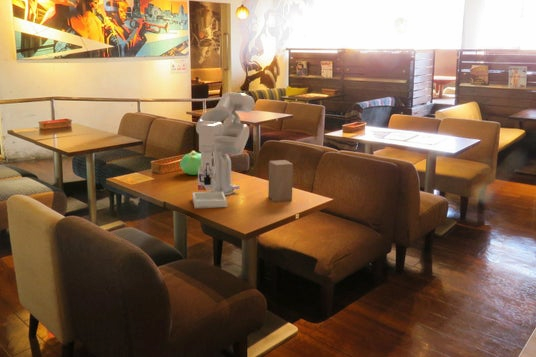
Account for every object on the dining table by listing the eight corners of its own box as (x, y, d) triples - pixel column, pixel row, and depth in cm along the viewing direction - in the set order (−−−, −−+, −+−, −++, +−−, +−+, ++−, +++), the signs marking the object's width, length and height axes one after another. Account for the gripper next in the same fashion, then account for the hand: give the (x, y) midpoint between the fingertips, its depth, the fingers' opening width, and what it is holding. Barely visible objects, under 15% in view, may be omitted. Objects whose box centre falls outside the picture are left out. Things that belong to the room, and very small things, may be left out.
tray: (222, 197, 269) (222, 191, 268) (226, 206, 254) (226, 200, 253) (192, 199, 265) (192, 192, 265) (194, 208, 250) (194, 201, 249)
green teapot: (200, 169, 327) (200, 147, 324) (214, 175, 315) (214, 152, 311) (176, 173, 316) (175, 151, 313) (189, 179, 304) (189, 155, 300)
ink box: (197, 190, 255) (197, 167, 252) (198, 187, 260) (198, 165, 257) (214, 190, 255) (214, 168, 252) (215, 188, 260) (215, 166, 257)
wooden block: (268, 196, 272) (268, 160, 267) (285, 195, 275) (286, 159, 270) (274, 202, 263) (275, 164, 258) (292, 200, 266) (293, 163, 261)
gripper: (197, 145, 259) (198, 179, 264) (200, 151, 243) (200, 187, 247) (212, 145, 261) (212, 178, 265) (216, 151, 245) (216, 187, 249)
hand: (206, 182), depth 256 cm, fingers closed on ink box, 5 cm apart
